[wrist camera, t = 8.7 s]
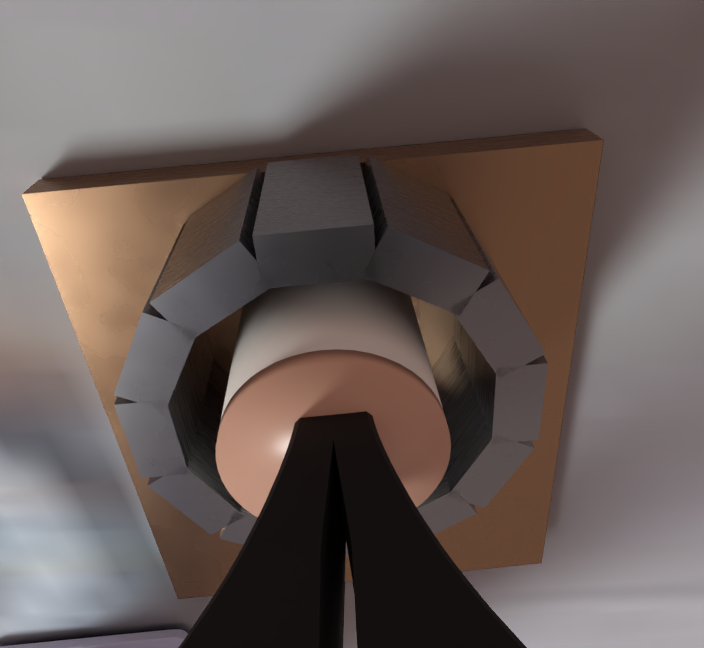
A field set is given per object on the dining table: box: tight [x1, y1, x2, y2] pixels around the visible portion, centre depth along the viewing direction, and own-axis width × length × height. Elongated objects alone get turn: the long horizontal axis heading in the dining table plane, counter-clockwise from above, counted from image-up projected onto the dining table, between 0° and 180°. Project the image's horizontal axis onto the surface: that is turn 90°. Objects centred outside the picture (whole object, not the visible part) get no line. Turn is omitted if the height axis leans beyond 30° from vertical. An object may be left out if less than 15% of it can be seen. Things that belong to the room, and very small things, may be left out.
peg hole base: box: [22, 129, 604, 599], centre depth 16 cm, size 15×13×5 cm
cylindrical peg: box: [216, 279, 451, 517], centre depth 13 cm, size 4×4×5 cm
